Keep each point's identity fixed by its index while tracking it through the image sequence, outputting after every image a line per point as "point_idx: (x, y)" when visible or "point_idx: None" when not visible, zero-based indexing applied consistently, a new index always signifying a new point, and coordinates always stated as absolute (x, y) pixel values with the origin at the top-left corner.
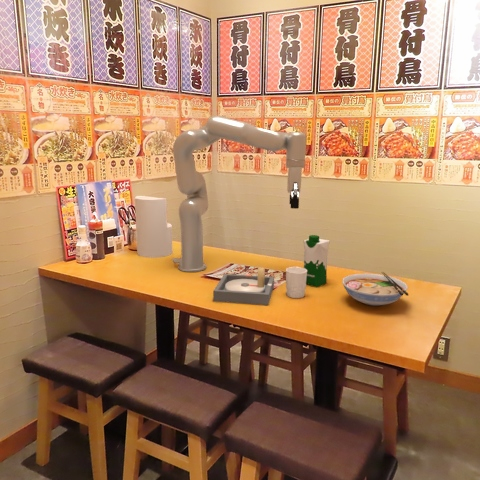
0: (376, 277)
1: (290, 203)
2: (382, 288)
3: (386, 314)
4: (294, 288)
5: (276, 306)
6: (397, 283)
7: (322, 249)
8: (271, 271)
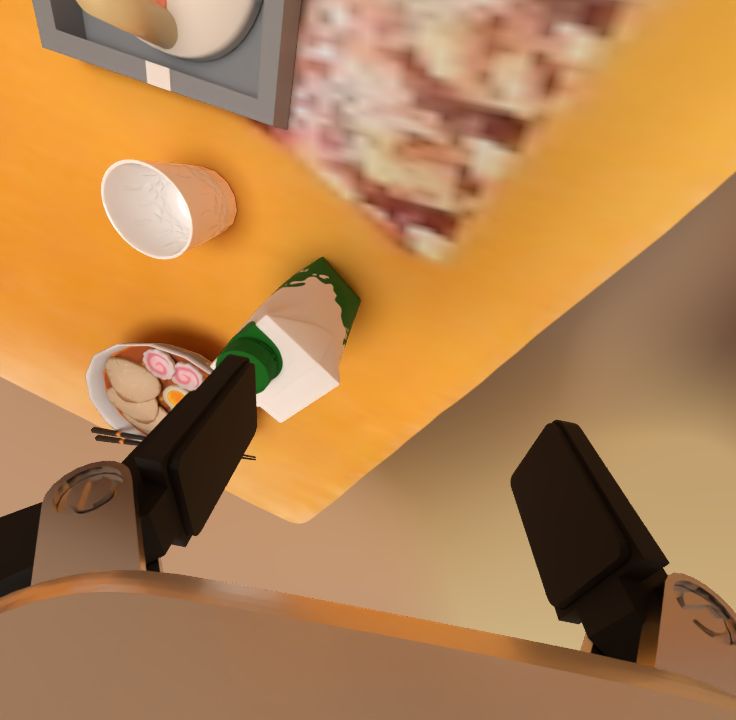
0: None
1: (549, 432)
2: (161, 416)
3: None
4: (153, 190)
5: (85, 96)
6: None
7: None
8: (480, 160)
